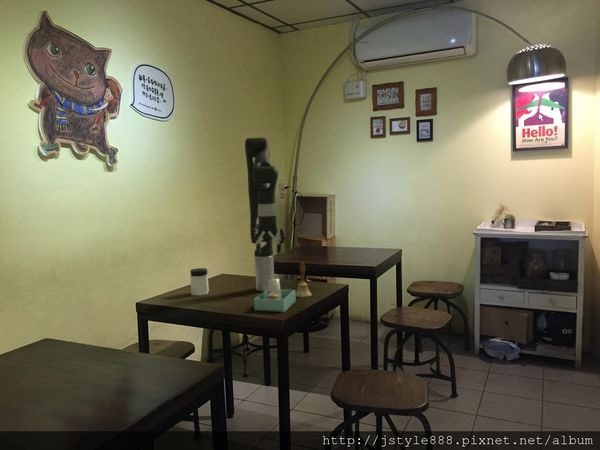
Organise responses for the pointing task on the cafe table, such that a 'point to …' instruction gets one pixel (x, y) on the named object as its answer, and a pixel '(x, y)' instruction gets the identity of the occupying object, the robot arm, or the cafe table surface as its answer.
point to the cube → (274, 296)
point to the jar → (199, 281)
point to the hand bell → (302, 284)
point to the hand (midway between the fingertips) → (269, 253)
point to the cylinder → (274, 285)
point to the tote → (275, 301)
